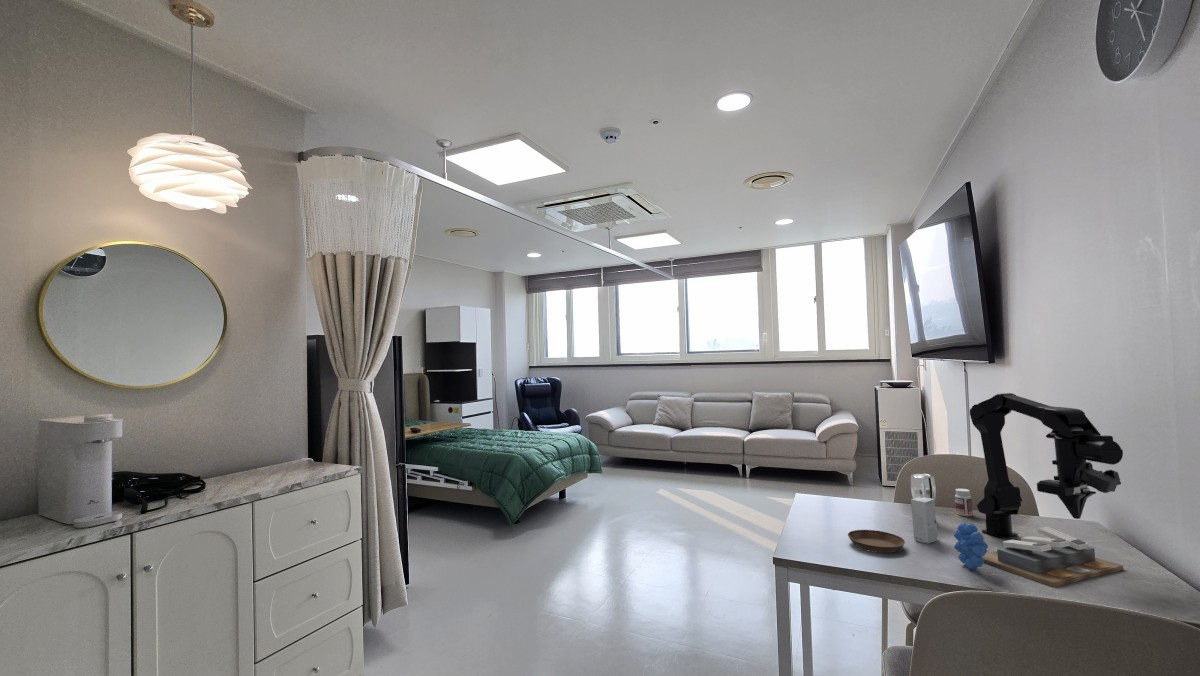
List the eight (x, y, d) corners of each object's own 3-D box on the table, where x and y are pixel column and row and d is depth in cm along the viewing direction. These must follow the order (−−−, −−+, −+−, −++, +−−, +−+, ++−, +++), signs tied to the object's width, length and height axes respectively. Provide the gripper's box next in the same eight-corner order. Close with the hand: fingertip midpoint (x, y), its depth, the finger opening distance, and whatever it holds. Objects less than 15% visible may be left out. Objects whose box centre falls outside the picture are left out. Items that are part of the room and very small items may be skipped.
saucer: (902, 541, 149) (901, 532, 150) (909, 559, 136) (908, 549, 136) (847, 536, 156) (846, 527, 156) (849, 552, 142) (848, 542, 142)
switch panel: (1040, 545, 141) (1039, 528, 141) (1123, 569, 124) (1121, 549, 124) (975, 559, 133) (973, 541, 134) (1053, 587, 116) (1051, 566, 116)
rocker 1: (1013, 544, 131) (1011, 538, 132) (1051, 549, 123) (1049, 543, 123) (1003, 546, 130) (1002, 540, 131) (1041, 551, 122) (1040, 545, 122)
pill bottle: (970, 512, 173) (968, 488, 174) (975, 516, 169) (973, 491, 169) (954, 512, 175) (952, 487, 175) (958, 515, 170) (956, 491, 171)
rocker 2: (1047, 530, 136) (1047, 525, 136) (1087, 548, 128) (1088, 543, 127) (1038, 532, 135) (1038, 527, 135) (1078, 550, 126) (1079, 544, 126)
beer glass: (908, 518, 169) (905, 474, 170) (927, 517, 170) (924, 473, 171) (923, 524, 163) (919, 478, 163) (943, 523, 163) (939, 477, 164)
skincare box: (929, 544, 145) (926, 502, 146) (912, 540, 149) (909, 499, 150) (938, 539, 149) (935, 498, 150) (922, 535, 153) (919, 495, 153)
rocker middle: (1031, 540, 134) (1029, 535, 134) (1070, 545, 125) (1068, 539, 126) (1021, 542, 132) (1020, 537, 133) (1060, 547, 124) (1059, 541, 124)
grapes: (1004, 579, 121) (1000, 529, 122) (974, 578, 122) (970, 528, 123) (976, 560, 133) (973, 515, 133) (949, 560, 134) (945, 514, 134)
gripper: (1085, 466, 119) (1092, 532, 118) (1134, 459, 124) (1140, 522, 123) (1032, 458, 129) (1038, 519, 128) (1079, 452, 135) (1085, 511, 134)
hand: (1076, 518), depth 128 cm, fingers closed
